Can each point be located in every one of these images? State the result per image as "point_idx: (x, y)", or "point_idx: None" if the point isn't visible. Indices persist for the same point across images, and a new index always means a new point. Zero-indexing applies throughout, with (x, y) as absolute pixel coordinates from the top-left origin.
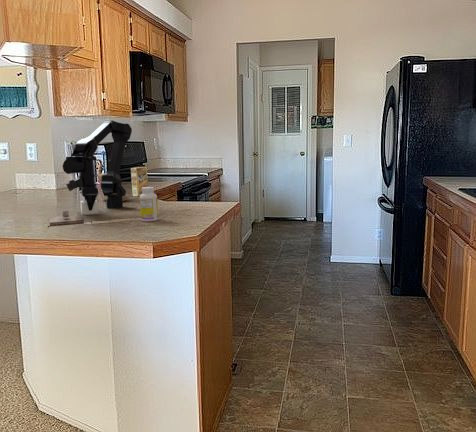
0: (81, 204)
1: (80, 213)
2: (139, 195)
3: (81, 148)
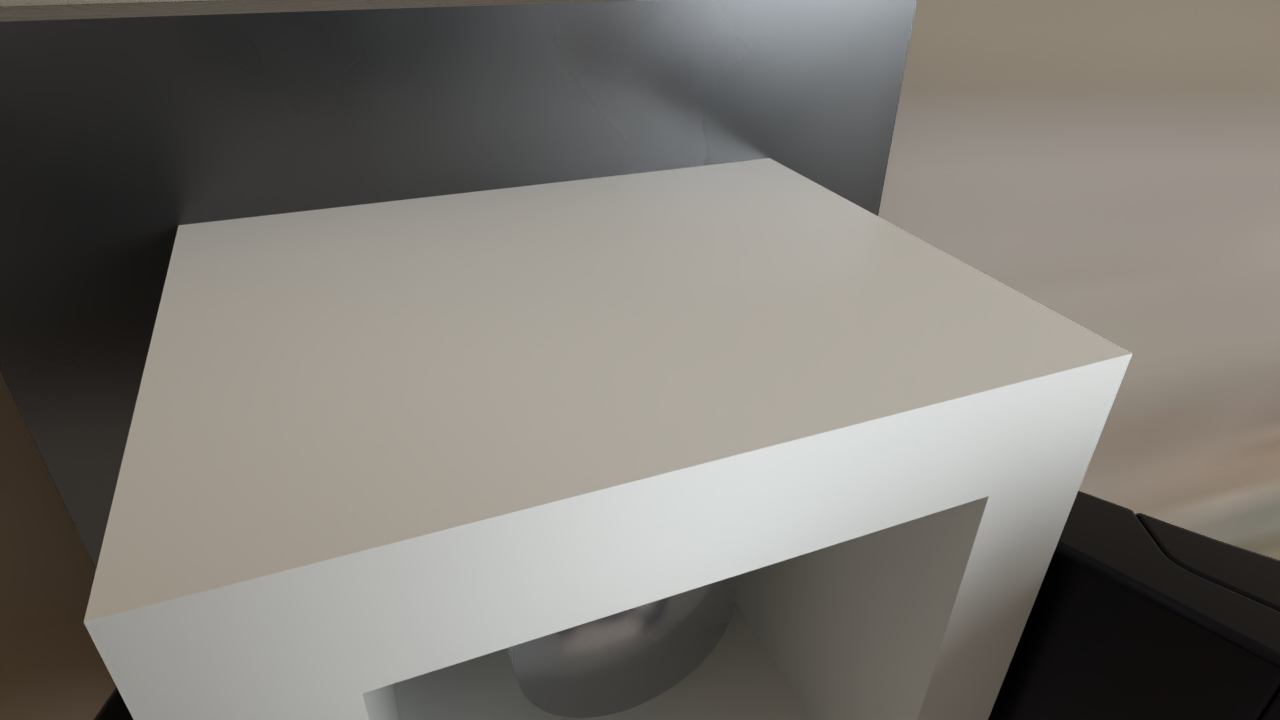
0: (350, 443)
1: (563, 136)
2: None
3: None
